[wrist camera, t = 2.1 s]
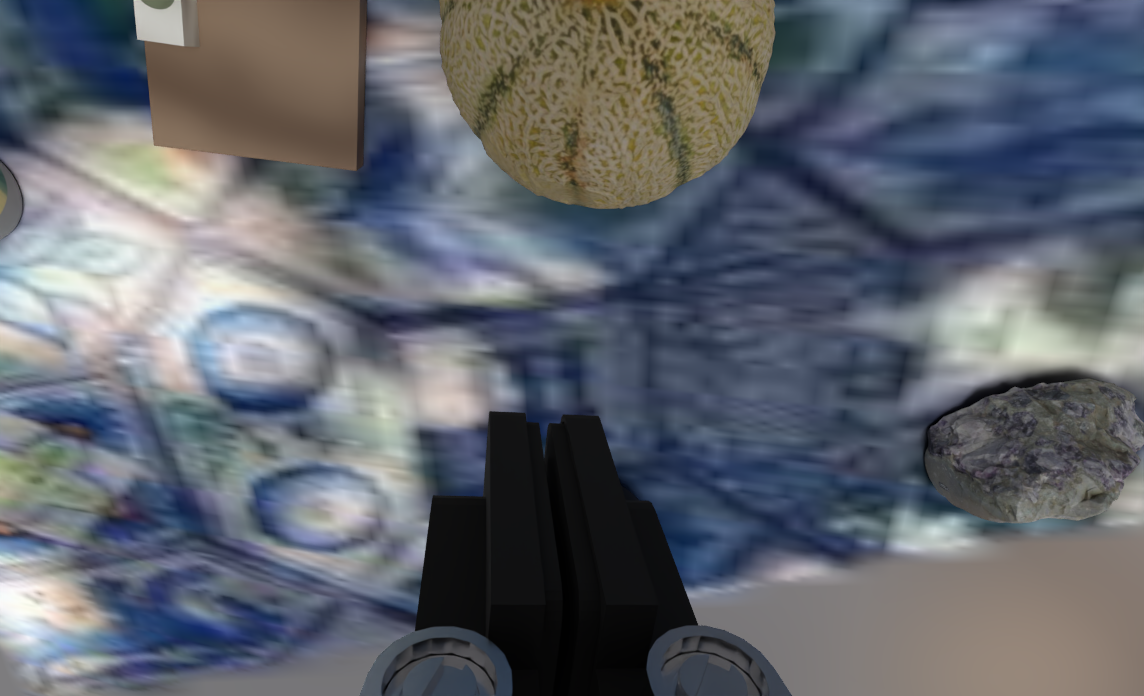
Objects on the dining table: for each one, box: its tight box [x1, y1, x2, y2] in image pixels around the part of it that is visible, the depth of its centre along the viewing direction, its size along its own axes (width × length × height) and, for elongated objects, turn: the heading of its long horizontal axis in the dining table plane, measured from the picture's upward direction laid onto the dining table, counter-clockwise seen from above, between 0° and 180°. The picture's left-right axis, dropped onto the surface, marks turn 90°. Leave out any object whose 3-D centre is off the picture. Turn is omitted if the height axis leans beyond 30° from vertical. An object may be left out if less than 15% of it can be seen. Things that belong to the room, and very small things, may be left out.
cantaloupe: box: [439, 0, 775, 209], centre depth 29 cm, size 15×15×15 cm
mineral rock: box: [925, 378, 1144, 523], centre depth 45 cm, size 13×11×10 cm
